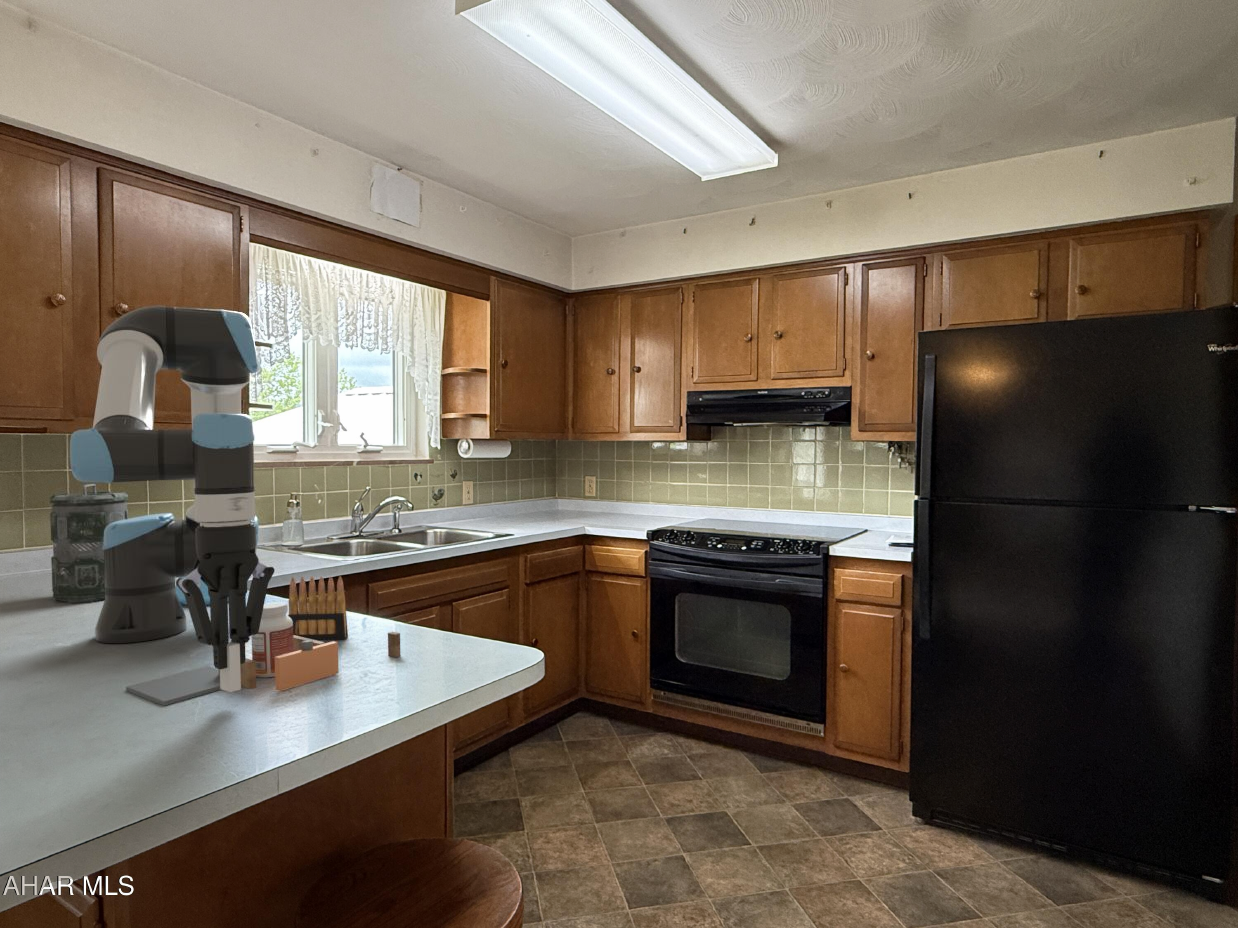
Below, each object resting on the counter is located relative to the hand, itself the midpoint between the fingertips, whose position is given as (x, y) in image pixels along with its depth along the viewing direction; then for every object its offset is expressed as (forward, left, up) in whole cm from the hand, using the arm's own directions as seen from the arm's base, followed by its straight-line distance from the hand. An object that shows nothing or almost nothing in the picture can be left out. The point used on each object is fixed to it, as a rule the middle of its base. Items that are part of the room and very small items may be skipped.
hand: (230, 688), depth 103 cm
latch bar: (0, +12, -3) cm, 12 cm away
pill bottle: (-10, +12, -3) cm, 16 cm away
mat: (-15, +1, -3) cm, 15 cm away
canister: (-106, +22, -3) cm, 108 cm away
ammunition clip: (-22, +28, -3) cm, 35 cm away
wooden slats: (-7, +17, -3) cm, 19 cm away
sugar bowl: (-77, +36, -3) cm, 85 cm away
